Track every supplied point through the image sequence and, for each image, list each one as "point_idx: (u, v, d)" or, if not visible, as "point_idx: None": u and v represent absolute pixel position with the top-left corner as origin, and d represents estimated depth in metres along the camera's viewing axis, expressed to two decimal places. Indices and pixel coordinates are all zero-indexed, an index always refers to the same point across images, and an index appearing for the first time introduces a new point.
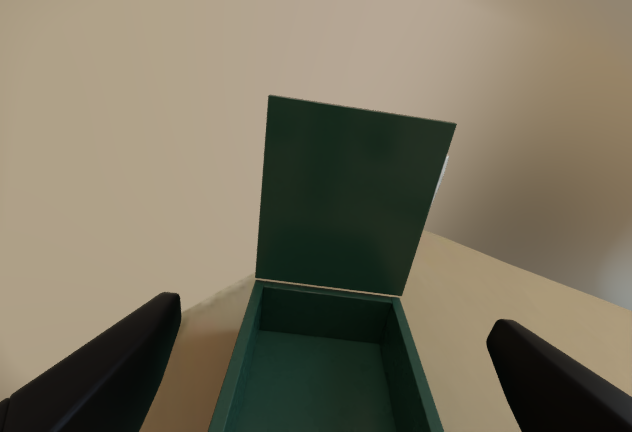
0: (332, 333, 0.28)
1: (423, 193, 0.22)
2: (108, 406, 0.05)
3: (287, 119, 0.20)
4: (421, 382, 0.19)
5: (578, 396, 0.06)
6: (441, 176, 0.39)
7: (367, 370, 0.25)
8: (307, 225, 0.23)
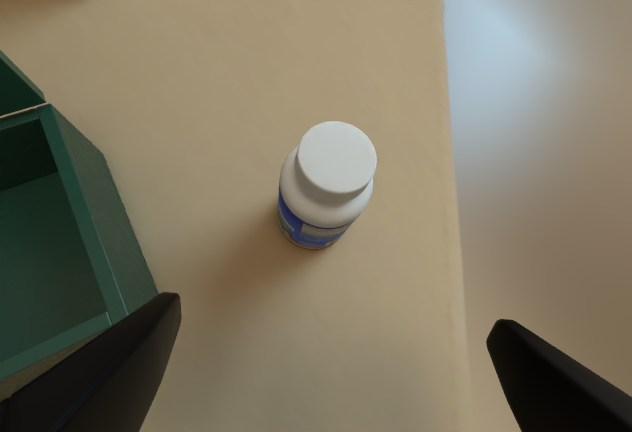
0: (12, 180, 0.20)
1: None
2: (108, 406, 0.05)
3: None
4: (84, 223, 0.16)
5: (578, 396, 0.06)
6: None
7: None
8: None
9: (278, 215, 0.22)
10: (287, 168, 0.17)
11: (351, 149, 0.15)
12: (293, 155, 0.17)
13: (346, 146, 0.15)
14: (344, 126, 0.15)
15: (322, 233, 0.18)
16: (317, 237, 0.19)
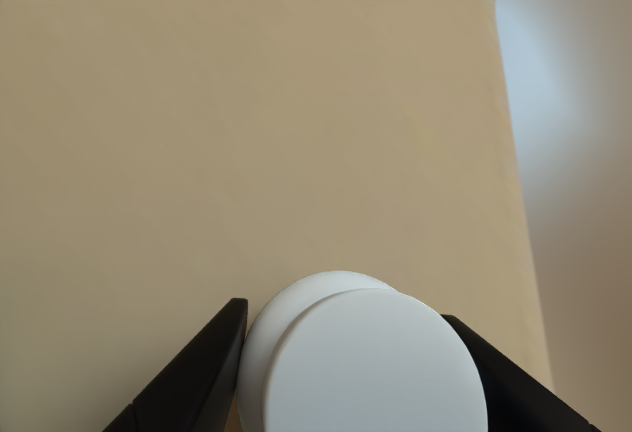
0: None
1: None
2: (211, 411, 0.05)
3: None
4: None
5: (498, 392, 0.06)
6: None
7: None
8: None
9: None
10: (249, 370, 0.07)
11: (417, 383, 0.05)
12: (265, 332, 0.07)
13: (403, 373, 0.05)
14: (394, 304, 0.06)
15: None
16: None
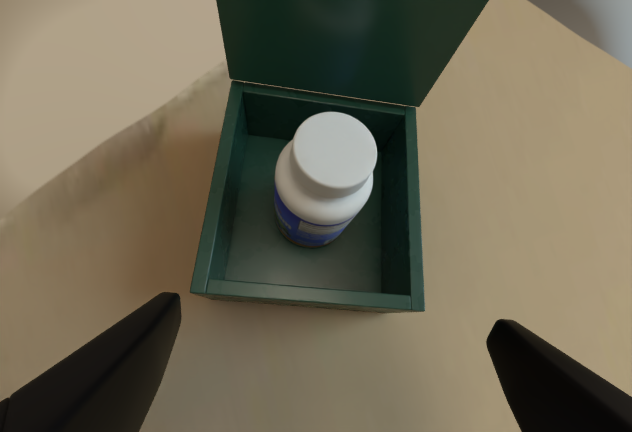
0: None
1: None
2: (108, 406, 0.05)
3: None
4: (414, 215, 0.18)
5: (578, 396, 0.06)
6: None
7: None
8: (293, 4, 0.15)
9: (274, 213, 0.21)
10: (282, 162, 0.16)
11: (349, 141, 0.14)
12: (288, 148, 0.16)
13: (344, 138, 0.14)
14: (342, 117, 0.14)
15: (320, 231, 0.17)
16: (315, 235, 0.18)
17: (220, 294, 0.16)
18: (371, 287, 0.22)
